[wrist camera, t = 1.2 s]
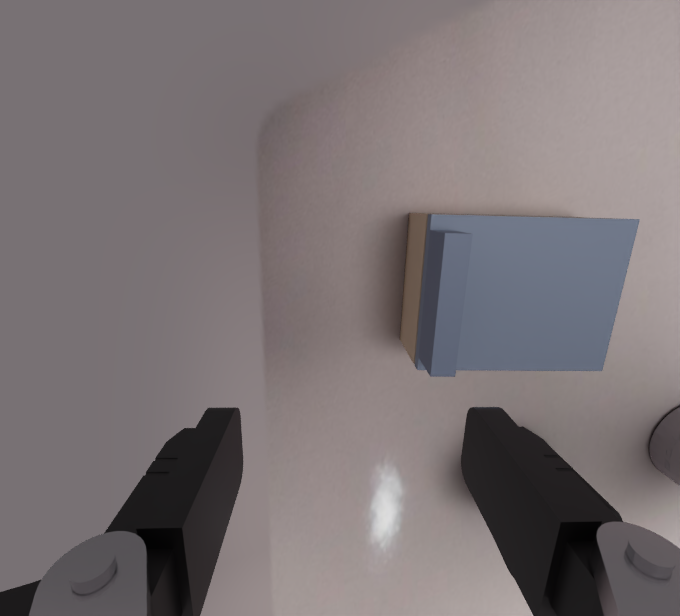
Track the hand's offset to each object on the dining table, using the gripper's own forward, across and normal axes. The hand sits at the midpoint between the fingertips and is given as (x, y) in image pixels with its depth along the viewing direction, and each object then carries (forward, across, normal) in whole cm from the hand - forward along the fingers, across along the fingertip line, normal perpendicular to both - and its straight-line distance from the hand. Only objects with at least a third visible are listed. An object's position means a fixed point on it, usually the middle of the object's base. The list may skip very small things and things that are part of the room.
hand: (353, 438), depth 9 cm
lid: (+16, -13, 0) cm, 21 cm away
